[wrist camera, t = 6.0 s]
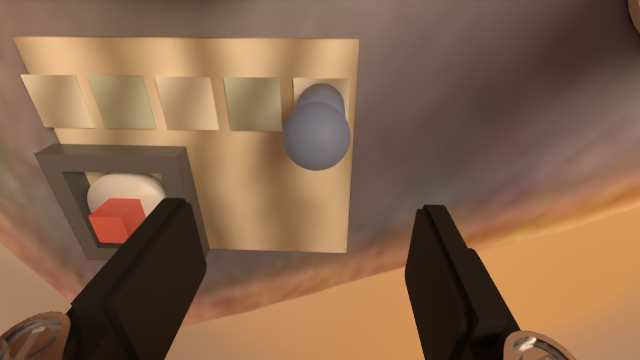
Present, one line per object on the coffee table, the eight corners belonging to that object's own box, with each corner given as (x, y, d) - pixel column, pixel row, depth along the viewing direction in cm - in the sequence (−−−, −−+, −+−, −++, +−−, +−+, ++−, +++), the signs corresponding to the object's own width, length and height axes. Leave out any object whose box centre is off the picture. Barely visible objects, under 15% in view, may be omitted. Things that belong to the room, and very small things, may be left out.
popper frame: (185, 146, 25) (174, 156, 23) (209, 248, 30) (202, 263, 29) (54, 143, 25) (34, 153, 24) (101, 245, 31) (87, 259, 29)
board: (358, 38, 21) (359, 40, 20) (345, 247, 31) (346, 254, 30) (16, 36, 22) (2, 37, 21) (106, 239, 32) (100, 246, 31)
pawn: (349, 81, 22) (355, 115, 15) (344, 132, 24) (348, 185, 16) (295, 78, 22) (275, 111, 15) (295, 129, 24) (277, 180, 16)
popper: (166, 168, 26) (140, 194, 22) (184, 233, 29) (164, 264, 26) (86, 166, 26) (47, 191, 23) (113, 231, 30) (84, 261, 26)
